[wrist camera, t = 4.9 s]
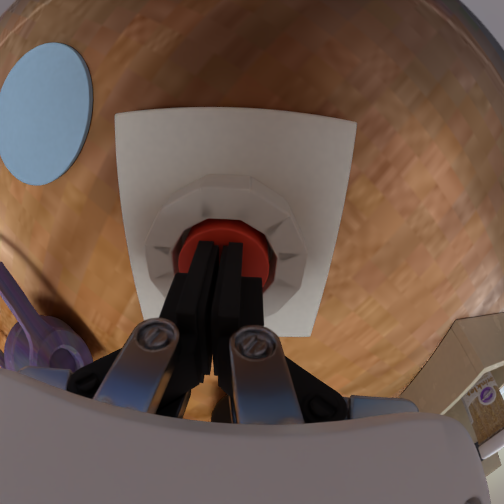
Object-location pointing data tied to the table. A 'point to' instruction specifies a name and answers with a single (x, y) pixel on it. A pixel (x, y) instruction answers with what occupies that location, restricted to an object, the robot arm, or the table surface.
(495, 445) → the sprinkles bottle
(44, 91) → the coaster
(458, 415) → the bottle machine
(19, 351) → the headphones
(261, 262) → the release button
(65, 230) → the table surface
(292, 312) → the button block
